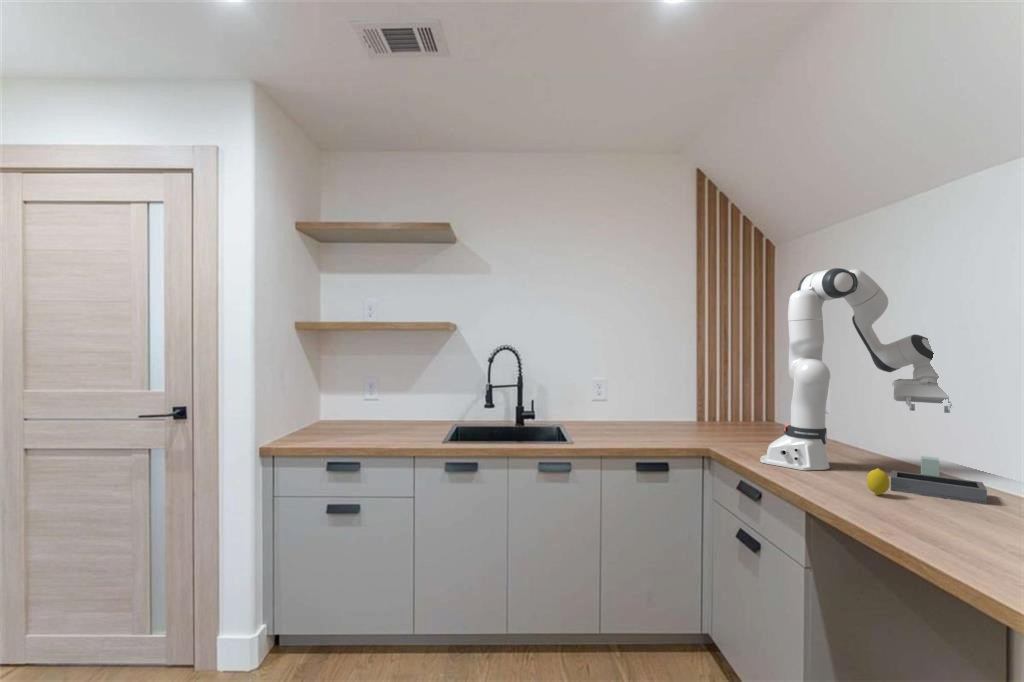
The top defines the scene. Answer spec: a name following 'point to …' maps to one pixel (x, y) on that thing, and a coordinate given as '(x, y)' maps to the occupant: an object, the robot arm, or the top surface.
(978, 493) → the bottom track
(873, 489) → the lemon
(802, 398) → the robot arm
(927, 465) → the door block
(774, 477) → the top surface
